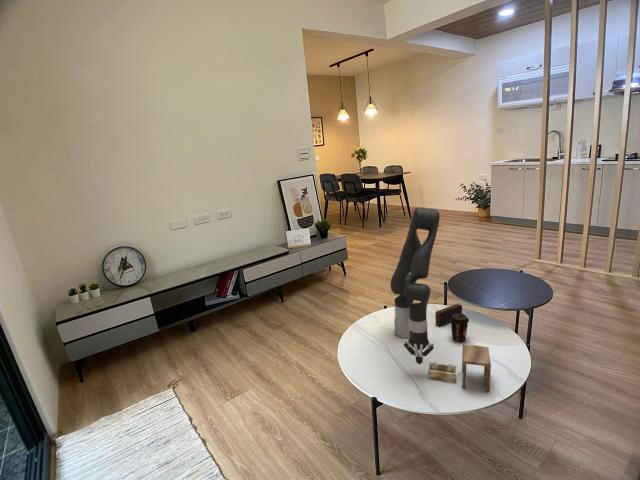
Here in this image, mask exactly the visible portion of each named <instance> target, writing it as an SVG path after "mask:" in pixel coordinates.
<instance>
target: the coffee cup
mask: <svg viewBox="0 0 640 480" xmlns="http://www.w3.org/2000/svg"><path fill="white" fill-rule="evenodd" d="M450 321H451V323H450V327H451V337H452V339H451V340H452V342H454V343H458V344H463V343H465V342H466V341H467V340H466V339H467V337H466V336H467V334H468V327H469V326H468V325H469V324H468V323H469V322H470V319H469V318H468V316H467V315H466V314H464V313H463V312H462V313H456V314H453V315H452V317H451V318H450Z"/></svg>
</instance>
